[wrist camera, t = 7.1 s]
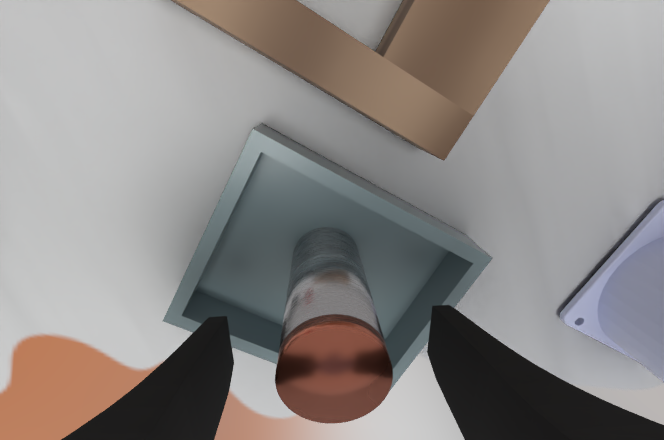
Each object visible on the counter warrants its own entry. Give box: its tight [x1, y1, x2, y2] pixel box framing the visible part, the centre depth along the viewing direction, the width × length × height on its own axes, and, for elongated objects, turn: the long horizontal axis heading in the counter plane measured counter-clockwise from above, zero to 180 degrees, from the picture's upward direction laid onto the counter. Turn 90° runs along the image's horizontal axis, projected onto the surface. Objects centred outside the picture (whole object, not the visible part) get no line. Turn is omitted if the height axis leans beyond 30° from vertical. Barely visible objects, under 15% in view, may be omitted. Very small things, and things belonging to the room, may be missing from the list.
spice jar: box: [275, 227, 393, 423], centre depth 13 cm, size 3×3×8 cm
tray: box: [163, 123, 492, 391], centre depth 16 cm, size 11×9×2 cm
